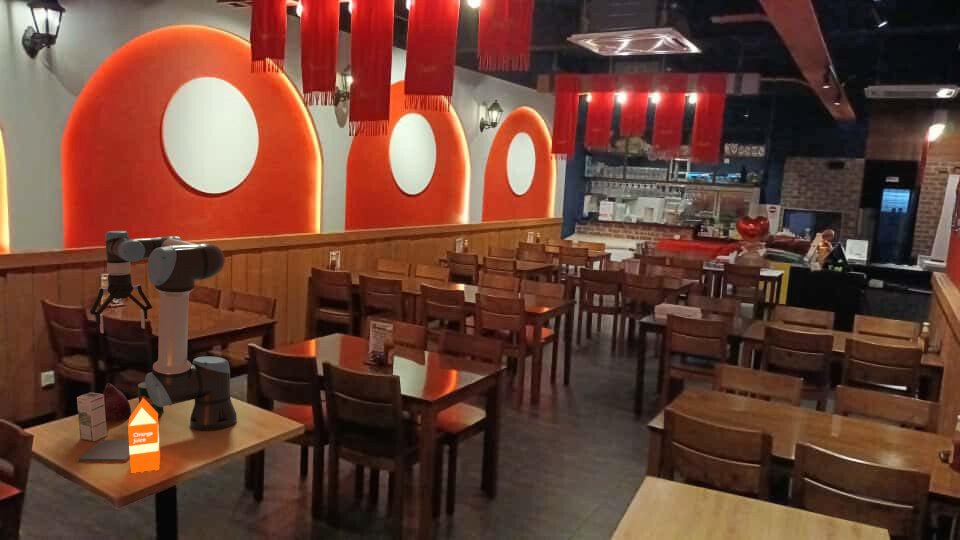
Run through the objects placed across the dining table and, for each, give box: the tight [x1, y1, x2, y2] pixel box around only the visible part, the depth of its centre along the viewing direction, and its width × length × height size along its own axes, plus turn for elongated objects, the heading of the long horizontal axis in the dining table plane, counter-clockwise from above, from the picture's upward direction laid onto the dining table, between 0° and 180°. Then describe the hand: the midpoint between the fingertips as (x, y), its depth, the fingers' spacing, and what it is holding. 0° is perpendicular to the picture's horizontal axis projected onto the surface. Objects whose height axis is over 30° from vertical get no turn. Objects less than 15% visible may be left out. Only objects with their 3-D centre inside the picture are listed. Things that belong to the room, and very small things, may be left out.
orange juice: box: [127, 398, 161, 474], centre depth 203 cm, size 8×9×20 cm
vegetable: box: [102, 382, 132, 423], centre depth 239 cm, size 10×10×15 cm
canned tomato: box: [137, 381, 165, 416], centre depth 245 cm, size 8×8×11 cm
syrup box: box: [76, 392, 108, 442], centre depth 222 cm, size 6×6×14 cm
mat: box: [78, 439, 130, 463], centre depth 213 cm, size 14×14×1 cm
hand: (122, 330), depth 252 cm, fingers open, 13 cm apart
